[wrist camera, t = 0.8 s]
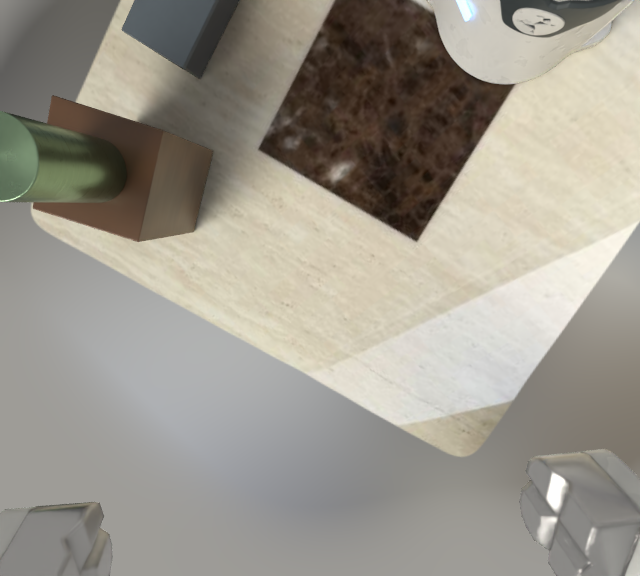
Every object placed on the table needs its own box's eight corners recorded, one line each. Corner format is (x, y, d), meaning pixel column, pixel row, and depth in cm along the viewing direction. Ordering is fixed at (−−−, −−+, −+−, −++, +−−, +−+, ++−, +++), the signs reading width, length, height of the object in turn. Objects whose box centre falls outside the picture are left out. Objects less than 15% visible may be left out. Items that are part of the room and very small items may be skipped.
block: (133, 125, 46) (51, 94, 33) (213, 151, 46) (163, 130, 33) (115, 207, 48) (32, 208, 35) (193, 232, 48) (138, 242, 35)
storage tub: (190, -42, 43) (168, -76, 37) (246, -6, 43) (232, -35, 38) (147, 50, 44) (120, 29, 39) (201, 83, 45) (182, 67, 40)
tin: (71, 128, 34) (-42, 97, 24) (133, 148, 34) (45, 125, 24) (60, 191, 35) (-53, 186, 25) (119, 210, 35) (30, 213, 25)
